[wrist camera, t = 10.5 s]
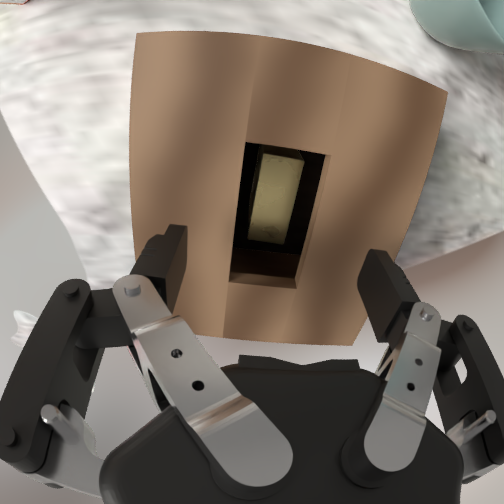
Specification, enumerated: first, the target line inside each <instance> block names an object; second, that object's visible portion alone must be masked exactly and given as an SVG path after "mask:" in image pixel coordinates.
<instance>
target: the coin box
mask: <svg viewBox="0 0 504 504" xmlns="http://www.w3.org/2000/svg"><path fill="white" fill-rule="evenodd" d="M447 95H448V92H447V91H445V90H443V89H441V88H438V87H436V86H434V85H432V84H430V83H428V82H425V81H423V80H421V79H419V78H416V77H414V76H411V75H409V74H407V73H404V72H401V71H399V70H396V69H394V68H391V67H388V66H385V65H383V64H380V63H377V62H374V61H371V60H368V59H365V58H361V57H358V56H355V55H351V54H348V53H344V52H341V51H337V50H333V49H329V48H325V47H321V46H316V45H312V44H307V43H302V42H297V41H292V40H286V39H280V38H273V37H266V36H259V35H250V34H240V33H228V32H209V31H164V32H146V33H137V35H136V43H135V51H134V61H133V71H132V84H131V100H130V127H129V170H130V197H131V214H132V228H133V239H134V250H135V259H136V261H137V259H138V257H139V256H140V255H141V252H142V250H143V249H144V247H145V245H146V243H147V241H148V240H149V239H150V238H152V237H153V236H154V235H156V234H161V235H164V234H165V232H166V230H167V228H168V226H169V224H177V225H186V226H187V227H188V243H187V265H186V271H185V274H184V277H183V281H182V284H181V287H180V291H179V294H178V297H177V301H176V304H175V308H174V311H173V317H175V316H177V315H179V316H181V317H182V318H183V319H184V320H185V322H186V323H187V325H188V326H189V327H190V329H191V330H192V332H193V333H194V334H195V335H203V336H212V337H221V338H230V339H240V340H251V341H263V342H276V343H291V344H311V345H344V346H345V345H346V346H352V345H353V343H354V341H355V339H356V337H357V336H358V334H359V332H360V330H361V328H362V326H363V325H364V323H365V321H366V319H367V317H368V314H367V312H366V309H365V307H364V304H363V301H362V299H361V296H360V294H359V291H358V289H357V279H358V275H359V273H360V270H361V268H362V265H363V263H364V260H365V258H366V255H367V253H368V251H369V250H370V249H378V250H385V251H387V253H388V254H389V256H390V257H391V259H392V261H393V262H394V261H395V258H396V256H397V254H398V251H399V249H400V247H401V244H402V242H403V239H404V237H405V234H406V232H407V229H408V227H409V224H410V222H411V219H412V216H413V214H414V211H415V208H416V206H417V203H418V200H419V197H420V194H421V191H422V188H423V185H424V182H425V179H426V176H427V173H428V170H429V166H430V163H431V160H432V156H433V153H434V149H435V146H436V142H437V138H438V134H439V130H440V126H441V122H442V118H443V114H444V109H445V105H446V100H447ZM245 142H251V143H259V144H266V145H273V146H280V147H286V148H293V149H298V150H304V151H310V152H315V153H321V154H326V155H325V160H324V164H323V169H322V173H321V178H320V182H319V186H318V190H317V195H316V199H315V203H314V207H313V211H312V215H311V219H310V223H309V227H308V231H307V235H306V239H305V243H304V246H303V250H302V254H301V255H296V254H287V253H279V252H270V251H261V250H253V249H244V248H235V247H232V245H233V237H234V228H235V220H236V211H237V203H238V195H239V187H240V179H241V171H242V163H243V155H244V148H245Z"/></svg>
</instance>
